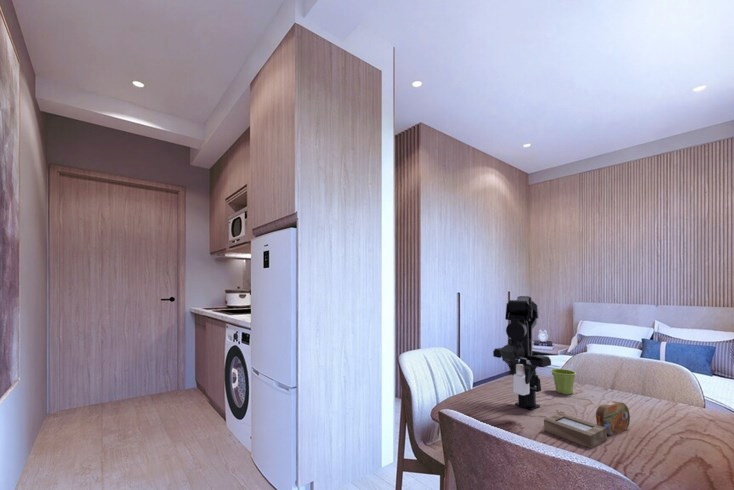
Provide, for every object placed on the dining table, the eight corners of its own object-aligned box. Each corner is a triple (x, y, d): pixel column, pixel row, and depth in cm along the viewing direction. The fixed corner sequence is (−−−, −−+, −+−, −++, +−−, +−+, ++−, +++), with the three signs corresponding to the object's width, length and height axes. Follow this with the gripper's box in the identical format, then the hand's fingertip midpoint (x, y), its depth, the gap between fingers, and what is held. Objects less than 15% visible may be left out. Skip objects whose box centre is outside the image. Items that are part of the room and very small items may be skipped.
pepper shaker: (512, 392, 116) (512, 364, 117) (519, 391, 118) (519, 363, 120) (523, 396, 113) (522, 367, 114) (530, 394, 115) (529, 365, 116)
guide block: (560, 423, 111) (560, 413, 111) (607, 439, 100) (606, 427, 100) (544, 430, 105) (543, 419, 106) (591, 448, 94) (590, 435, 95)
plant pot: (556, 395, 140) (555, 373, 141) (548, 388, 149) (547, 368, 150) (581, 396, 138) (579, 374, 139) (571, 389, 147) (570, 369, 148)
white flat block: (564, 421, 108) (564, 418, 108) (593, 431, 101) (593, 427, 101) (556, 424, 105) (556, 421, 105) (585, 435, 98) (585, 431, 98)
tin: (605, 438, 101) (603, 408, 102) (594, 433, 104) (593, 405, 105) (631, 428, 108) (629, 401, 109) (620, 424, 111) (618, 398, 112)
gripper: (482, 334, 122) (483, 378, 120) (531, 342, 106) (533, 393, 104) (502, 332, 127) (503, 374, 126) (550, 339, 112) (553, 388, 110)
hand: (521, 382), depth 116 cm, fingers closed on pepper shaker, 4 cm apart
